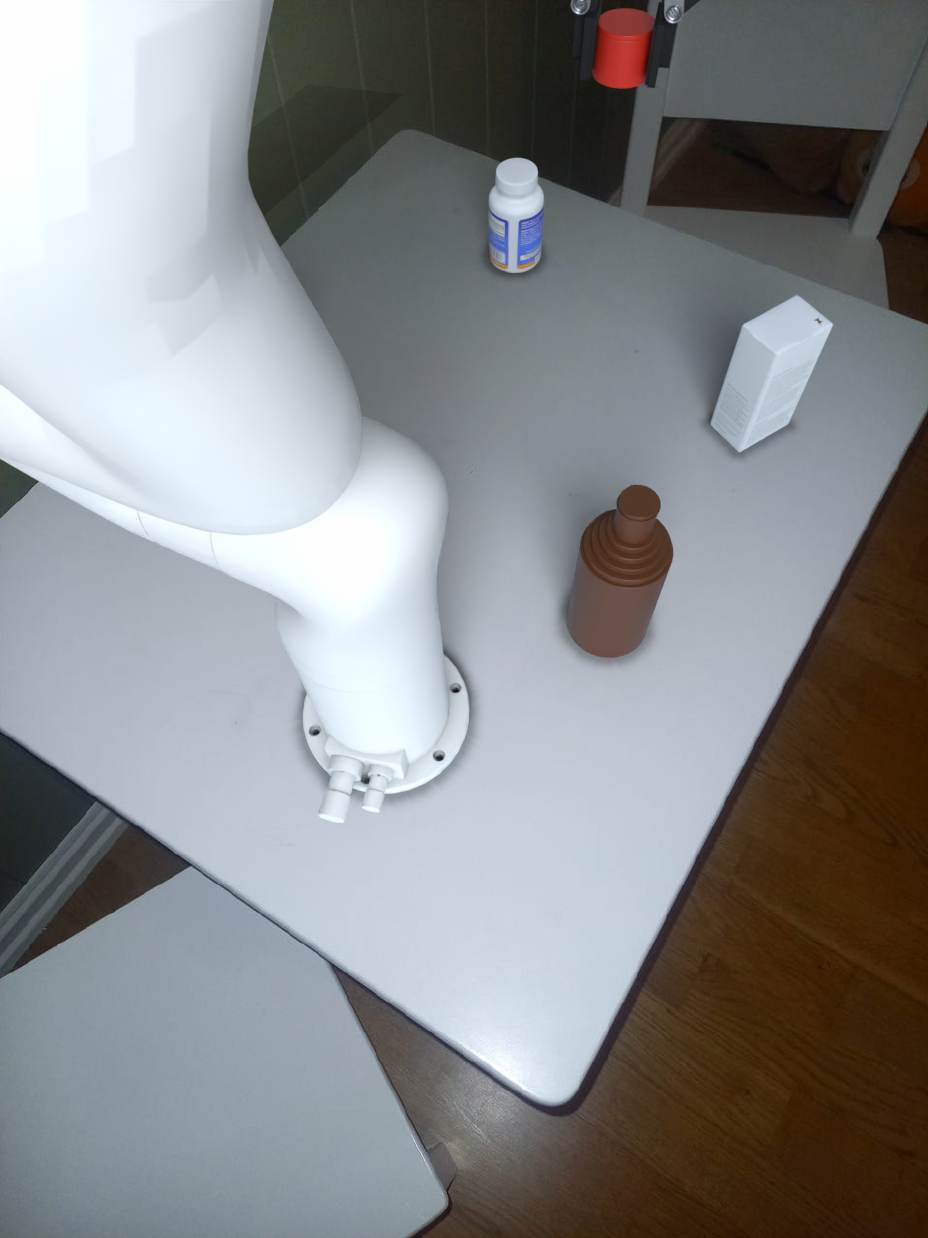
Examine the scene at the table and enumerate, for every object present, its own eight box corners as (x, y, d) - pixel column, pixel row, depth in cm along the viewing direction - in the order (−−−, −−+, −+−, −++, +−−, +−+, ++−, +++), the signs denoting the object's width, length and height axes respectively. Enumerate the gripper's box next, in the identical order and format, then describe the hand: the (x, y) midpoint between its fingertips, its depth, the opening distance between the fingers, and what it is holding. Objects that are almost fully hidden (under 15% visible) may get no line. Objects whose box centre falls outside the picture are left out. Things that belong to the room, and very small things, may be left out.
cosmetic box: (757, 395, 79) (798, 291, 68) (788, 425, 77) (836, 323, 66) (706, 424, 77) (741, 322, 67) (737, 455, 76) (778, 355, 65)
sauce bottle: (657, 649, 67) (704, 533, 52) (578, 665, 66) (604, 552, 52) (633, 581, 70) (672, 453, 55) (558, 595, 69) (577, 469, 55)
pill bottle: (542, 240, 89) (548, 152, 81) (539, 276, 87) (544, 189, 78) (490, 238, 90) (491, 150, 81) (486, 273, 87) (486, 187, 79)
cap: (627, 54, 59) (634, 2, 56) (659, 78, 57) (669, 25, 55) (581, 69, 58) (586, 16, 56) (613, 94, 56) (620, 41, 54)
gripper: (849, -340, 42) (748, 53, 58) (517, -354, 44) (509, 30, 60) (847, -280, 38) (740, 119, 55) (487, -298, 40) (487, 92, 57)
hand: (619, 69), depth 57 cm, fingers closed on cap, 3 cm apart
